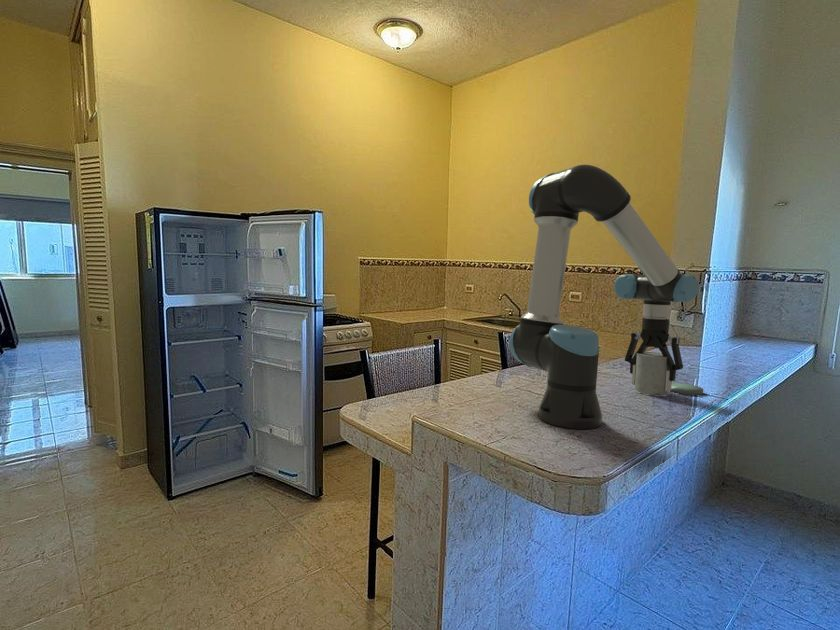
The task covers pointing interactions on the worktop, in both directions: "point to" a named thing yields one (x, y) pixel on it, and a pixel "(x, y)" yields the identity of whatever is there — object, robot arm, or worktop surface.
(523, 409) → the worktop surface
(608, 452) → the worktop surface
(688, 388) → the pad
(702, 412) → the worktop surface
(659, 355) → the grey marble cylinder
